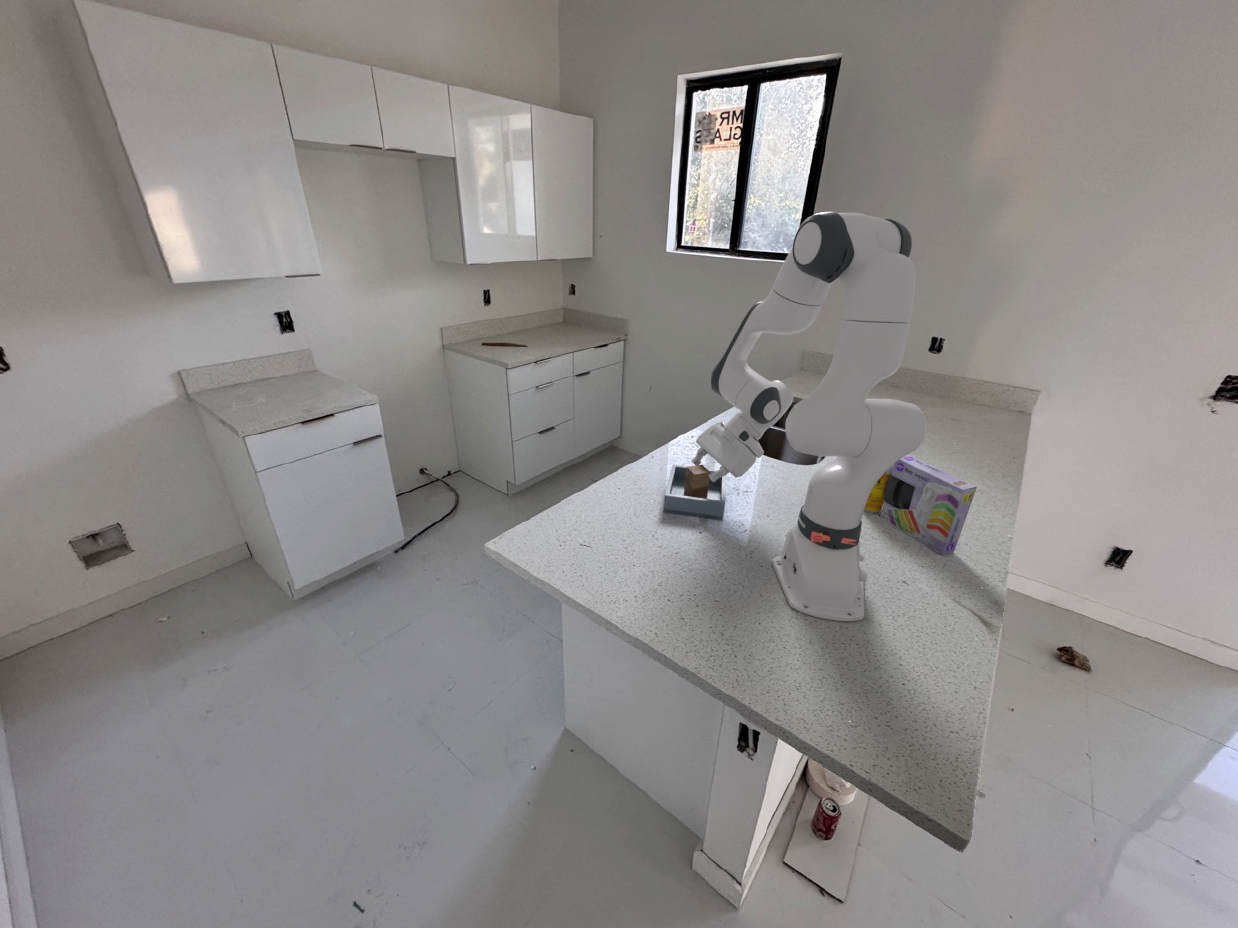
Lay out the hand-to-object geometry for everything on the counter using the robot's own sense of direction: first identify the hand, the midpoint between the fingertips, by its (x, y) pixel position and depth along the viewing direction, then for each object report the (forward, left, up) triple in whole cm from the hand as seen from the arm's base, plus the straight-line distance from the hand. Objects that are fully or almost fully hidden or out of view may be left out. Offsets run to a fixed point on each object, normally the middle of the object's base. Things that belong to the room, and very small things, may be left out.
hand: (701, 471), depth 130 cm
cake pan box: (-2, -53, -9) cm, 54 cm away
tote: (0, +1, -8) cm, 8 cm away
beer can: (+8, -45, -9) cm, 47 cm away
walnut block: (0, +1, -7) cm, 7 cm away
